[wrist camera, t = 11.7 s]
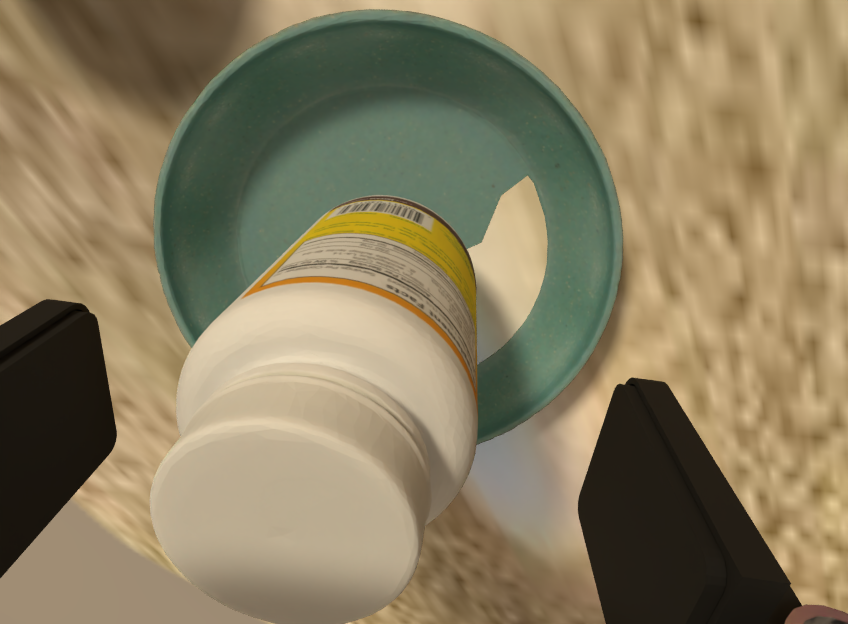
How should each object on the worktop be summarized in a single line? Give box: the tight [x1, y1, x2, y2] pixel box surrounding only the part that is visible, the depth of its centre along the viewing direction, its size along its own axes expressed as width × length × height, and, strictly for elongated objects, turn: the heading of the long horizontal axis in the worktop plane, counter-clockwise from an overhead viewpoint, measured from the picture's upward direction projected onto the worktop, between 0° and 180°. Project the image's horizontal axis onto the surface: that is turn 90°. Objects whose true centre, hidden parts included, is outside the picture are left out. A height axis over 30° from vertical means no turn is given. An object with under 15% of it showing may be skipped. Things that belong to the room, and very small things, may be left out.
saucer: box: [153, 9, 623, 445], centre depth 18 cm, size 15×15×3 cm
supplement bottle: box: [150, 195, 478, 624], centre depth 12 cm, size 6×6×10 cm
